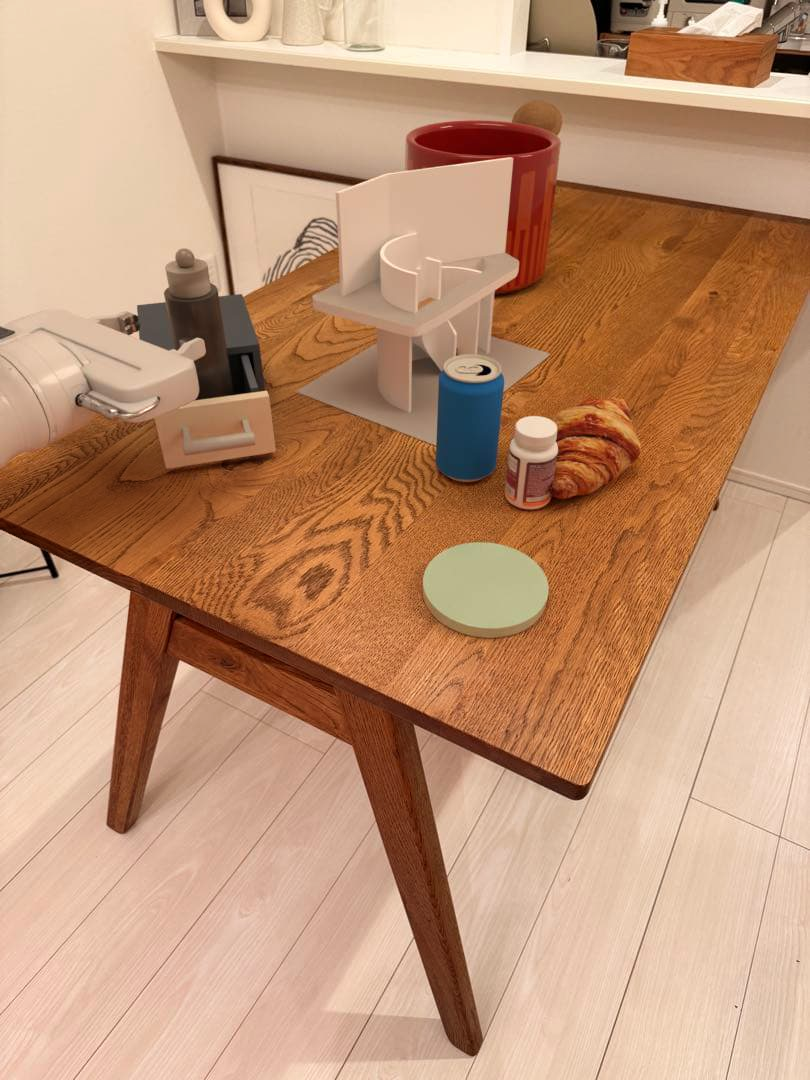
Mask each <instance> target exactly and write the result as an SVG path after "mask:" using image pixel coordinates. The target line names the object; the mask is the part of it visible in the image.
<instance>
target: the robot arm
mask: <svg viewBox="0 0 810 1080" xmlns="http://www.w3.org/2000/svg"><path fill="white" fill-rule="evenodd" d="M138 320H139V319H138V314H134V313H132V312H129V311H127V310H124V311H121V312H119V313H117V314H114V315H113V314H112V315H104V316H103V315H101V316H92V317H90V318H86V317H83V316H81V315H79V314H75V313H73V312H71V311H68V310H65V309H46V310H41V311H39V312H35V313H32V314H28V315H25V316H23V317H20V318H17V319H14V320H11V321H9V322H7V323H5V324H4V325H3V326H2V325H0V470H2V469H3V468H4V467H5V466H6V465H7V464H8V463H9V462H10V461H11V460H13V459H14V458H16V457H17V456H19V455H22V454H25V453H28V452H34V451H39V450H41V449H44V448H45V447H47V446H50V445H51V444H54V443H56V442H58V441H59V440H61V439H63V438H65V437H67V436H69V435H70V434H72V433H75V432H76V431H78V430H80V429H82V428H85V427H86V426H88V425H90V423H92V422H93V419H94V417H95V413H97V414H99V415H101V416H102V417H103V418H105V419H107V420H110V421H114V422H115V421H118V420H120V421H123V422H127V423H134V424H137V423H143V422H148V421H151V420H154V418H156V417H159V416H162V415H164V414H166V413H169V412H171V411H174V410H176V409H178V408H180V407H182V406H185V405H187V404H189V403H191V402H193V401H194V400H195V399H196V398H197V396H198V394H199V382H198V377H197V372H196V367H195V364H194V361H195V360H197V359H199V358H201V357H203V356H204V355H205V353H206V349H205V343H204V340H203V339H201V338H197V337H195V336H192V335H189V336H188V337H187V338H183V339H181V340H179V342H180V348H179V350H175V349H172V350H169V351H168V350H166V349H163V348H160V347H158V346H155V345H153V344H150V343H147V342H145V341H142V340H140V339H139V338H137V337H134V336H131V335H133V334H134V333H138V332H139V329H140V323H139V322H138Z"/></svg>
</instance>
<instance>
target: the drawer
mask: <svg viewBox="0 0 810 1080" xmlns="http://www.w3.org/2000/svg"><path fill="white" fill-rule="evenodd" d="M228 360H229V367H230V373H231V379H232V386H233V392H234V395H232V396H224V397H217V398H210V399H202V400H195V401H193V402H191V403H189V404H187V405H185V406H182V407H180V408H178V409H176V410H174V411H171V412H169V413H166V414H164V415H162V416H159V417H156V418H154V419H153V421H154V424H155V429H156V432H157V436H158V437H157V438H158V441H159V445H160V449H161V454H162V458H163V462H164V466H165V469H168V470H169V469H174V468H180V467H188V466H194V465H201V464H207V463H213V462H214V463H215V462H220V461H227V460H234V459H238V458H239V459H240V458H246V457H253V456H259V455H266V454H271V453H272V454H273V453H275V452H277V449H276V440H275V434H274V425H273V417H272V409H271V400H270V395H269V392H268V390H265V391H261V392H258V386H257V383H256V380H255V376H254V373H253V370H252V367H251V364H250V360H249V357H248V354H247V353H241V354H233V355H228Z"/></svg>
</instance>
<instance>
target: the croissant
mask: <svg viewBox="0 0 810 1080" xmlns="http://www.w3.org/2000/svg"><path fill="white" fill-rule="evenodd" d="M628 408H629V407H628V405H627V403H626V402H625V400H624V399H623V398H619V399H617V398H615V397H611V396H605V397H601V398H597V397H587V398H584V399H582V400H581V401H579V402H577V403H576V405H575V406H573V407H569V408H566V409H562V410H559V411H556V414H554V416H553V418H552V419H551V420H552V421H553V422H554V423H555V424H556V425H557V439H556V443H557V445H558V455H557V461H556V468H555V475H554V479H553V481H552V483H551V485H550V488H549V491H550V493H551V497H553V498H556V499H561V500H565V499H570V498H572V497H575V496H586V495H591V494H593V493H594V492H596V491H598V490H599V489H600V488H601V487H602V486H604V485H608V484H611V483H612V482H614V480H616V479H617V478H618V477H619V476H620V475H621V473H622V472H624V471H626V470H627V469H628V468H630V467H631V465H633V463H635V462H636V461H637V460H638V459H639V457H640V455H641V453H642V445H641V442H640V440H639V438H638V436H637V434H636V430H635V427H634V425H633V423H632V421H631V413H630V411H629V409H628Z"/></svg>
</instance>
